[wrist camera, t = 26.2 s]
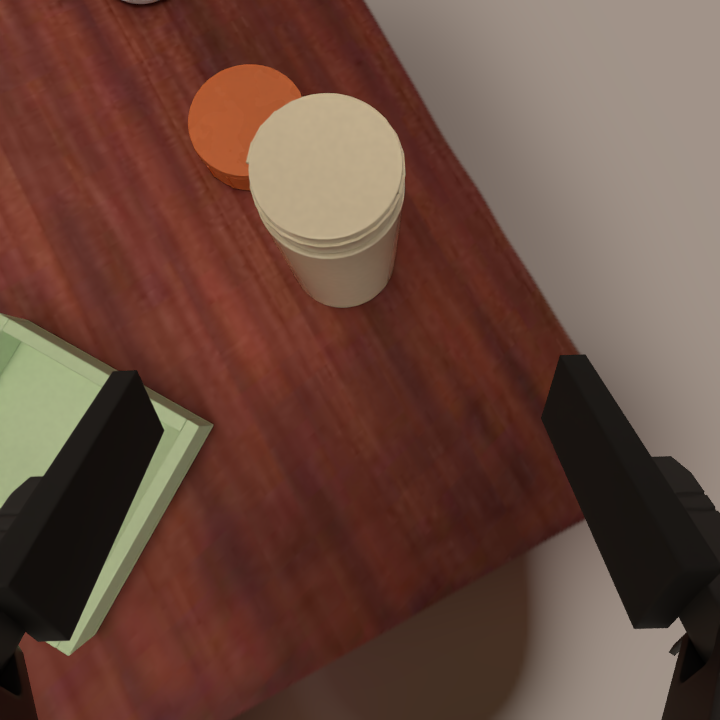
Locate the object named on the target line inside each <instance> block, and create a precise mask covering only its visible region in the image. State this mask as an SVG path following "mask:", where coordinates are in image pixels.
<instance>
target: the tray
mask: <svg viewBox="0 0 720 720" xmlns="http://www.w3.org/2000/svg"><path fill="white" fill-rule="evenodd" d="M113 371H118V370H116V369H114V368H112V367H110V366H109V365H107V364H105V363H103V362H102V361H100V360H98V359H96V358H94V357H93V356H91V355H89V354H87V353H86V352H84V351H82V350H80V349H78V348H77V347H75V346H73V345H71V344H70V343H68V342H66V341H64V340H62V339H61V338H59V337H57V336H55V335H54V334H52V333H50V332H48V331H46V330H45V329H43V328H41V327H39V326H38V325H36V324H34V323H32V322H31V321H29V320H26V319H22V318H18V317H14V316H10V315H6V314H2V313H0V508H1V507H2V506H3V504H4V503H5V501H6V500H7V498H8V497H9V496H10V494H11V493H12V492H13V491H14V490H16V489H17V488H18V487H19V486H20V485H21V484H22V483H24V482H25V481H26V480H27V479H28V478H29V477H34V476H44V474H45V473H46V471H47V470H48V468H49V467H50V465H51V464H52V462H53V461H54V459H55V458H56V456H57V455H58V453H59V452H60V450H61V449H62V447H63V446H64V444H65V443H66V441H67V440H68V438H69V437H70V435H71V433H72V432H73V430H74V429H75V427H76V426H77V424H78V423H79V421H80V420H81V418H82V417H83V415H84V414H85V412H86V411H87V409H88V408H89V406H90V405H91V403H92V402H93V400H94V399H95V397H96V396H97V394H98V393H99V391H100V390H101V388H102V387H103V385H104V384H105V382H106V381H107V379H108V378H109V376H110V375H111V373H112V372H113ZM144 387H145V389H146V391H147V393H148V396H149V398H150V400H151V402H152V404H153V406H154V409H155V411H156V413H157V415H158V417H159V420H160V422H161V424H162V426H163V428H164V430H165V431H164V433H163V435H162V437H161V439H160V442H159V444H158V446H157V448H156V451H155V453H154V455H153V457H152V459H151V462H150V464H149V466H148V468H147V471H146V473H145V475H144V477H143V479H142V482H141V484H140V486H139V488H138V491H137V493H136V495H135V497H134V499H133V502H132V504H131V506H130V508H129V511H128V513H127V515H126V517H125V519H124V522H123V524H122V526H121V528H120V531H119V533H118V535H117V537H116V539H115V542H114V544H113V546H112V548H111V550H110V553H109V555H108V557H107V559H106V562H105V564H104V566H103V568H102V570H101V573H100V575H99V577H98V579H97V582H96V584H95V586H94V588H93V590H92V593H91V595H90V597H89V599H88V602H87V604H86V606H85V608H84V610H83V613H82V615H81V617H80V619H79V622H78V624H77V626H76V628H75V630H74V633H73V635H72V637H71V639H70V641H46V642H47V643H49V644H50V645H52V646H53V647H55V648H57V649H58V650H60V651H62V652H63V653H65V654H66V655H68V656H69V655H70V654H72V653H73V652H74V651H75V650H77V649H78V648H79V647H80V646H82V645H83V644H84V643H85V642H86V641H88V640H89V639H90V638H92V637H93V636H94V635H95V634H96V632H97V631H98V629H99V627H100V625H101V624H102V622H103V620H104V618H105V616H106V615H107V613H108V611H109V609H110V608H111V606H112V604H113V602H114V601H115V599H116V597H117V595H118V594H119V592H120V590H121V588H122V586H123V585H124V583H125V581H126V579H127V578H128V576H129V574H130V572H131V571H132V569H133V567H134V565H135V563H136V562H137V560H138V558H139V556H140V555H141V553H142V551H143V549H144V548H145V546H146V544H147V542H148V540H149V539H150V537H151V535H152V533H153V532H154V530H155V528H156V526H157V525H158V523H159V521H160V519H161V518H162V516H163V514H164V512H165V510H166V509H167V507H168V505H169V503H170V502H171V500H172V498H173V496H174V495H175V493H176V491H177V489H178V487H179V486H180V484H181V482H182V480H183V479H184V477H185V475H186V473H187V472H188V470H189V468H190V466H191V464H192V463H193V461H194V459H195V457H196V456H197V454H198V452H199V450H200V449H201V447H202V445H203V443H204V442H205V440H206V438H207V436H208V434H209V433H210V431H211V429H212V427H213V424H212V423H210V422H208V421H206V420H205V419H203V418H201V417H199V416H197V415H196V414H194V413H192V412H190V411H189V410H187V409H185V408H183V407H181V406H180V405H178V404H176V403H174V402H173V401H171V400H169V399H167V398H165V397H164V396H162V395H160V394H158V393H157V392H155V391H153V390H151V389H149V388H148V387H146V386H144Z"/></svg>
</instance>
